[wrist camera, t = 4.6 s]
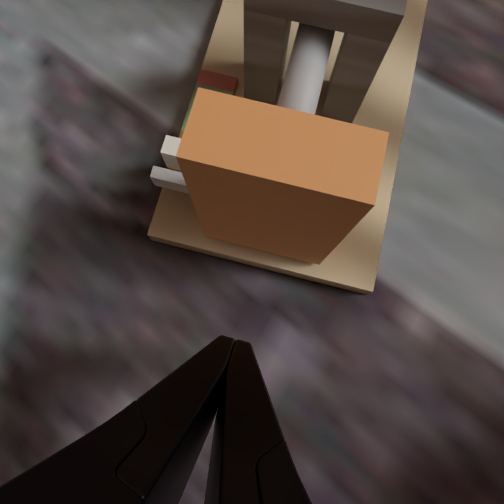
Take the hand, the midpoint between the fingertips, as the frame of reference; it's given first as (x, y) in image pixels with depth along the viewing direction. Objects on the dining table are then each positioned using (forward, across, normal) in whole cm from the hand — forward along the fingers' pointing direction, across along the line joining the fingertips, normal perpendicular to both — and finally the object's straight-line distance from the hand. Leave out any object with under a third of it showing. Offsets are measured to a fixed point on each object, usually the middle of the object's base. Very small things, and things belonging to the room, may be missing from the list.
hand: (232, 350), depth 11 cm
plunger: (+10, -1, +2) cm, 11 cm away
